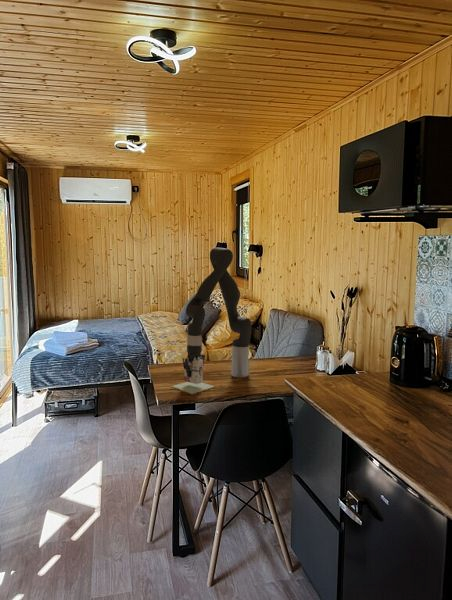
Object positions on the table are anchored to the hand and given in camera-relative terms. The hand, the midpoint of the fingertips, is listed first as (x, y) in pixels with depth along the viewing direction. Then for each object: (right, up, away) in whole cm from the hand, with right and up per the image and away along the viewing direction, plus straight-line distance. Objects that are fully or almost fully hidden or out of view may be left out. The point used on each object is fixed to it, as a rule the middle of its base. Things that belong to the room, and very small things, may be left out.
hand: (193, 375), depth 238 cm
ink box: (0, -3, 0) cm, 3 cm away
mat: (0, -6, +1) cm, 6 cm away
